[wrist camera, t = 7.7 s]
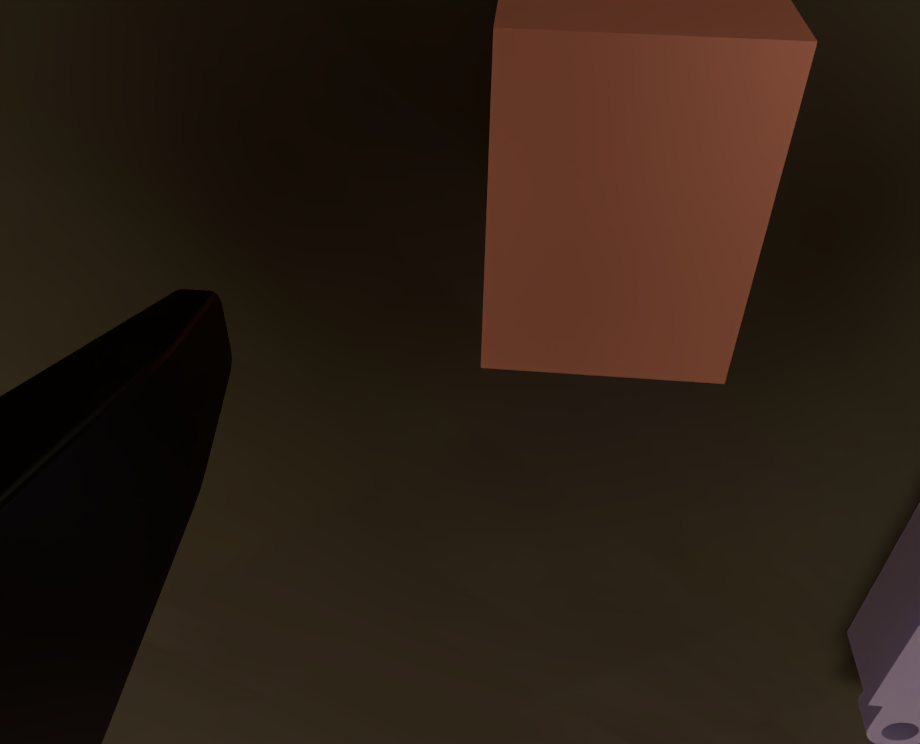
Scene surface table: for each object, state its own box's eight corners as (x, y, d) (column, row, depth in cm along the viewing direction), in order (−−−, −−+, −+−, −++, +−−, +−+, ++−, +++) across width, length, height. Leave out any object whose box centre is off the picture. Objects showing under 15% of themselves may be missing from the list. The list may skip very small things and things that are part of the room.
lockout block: (501, 179, 18) (480, 367, 13) (514, -95, 15) (493, 27, 10) (681, 189, 18) (724, 383, 13) (735, -87, 14) (818, 41, 10)
